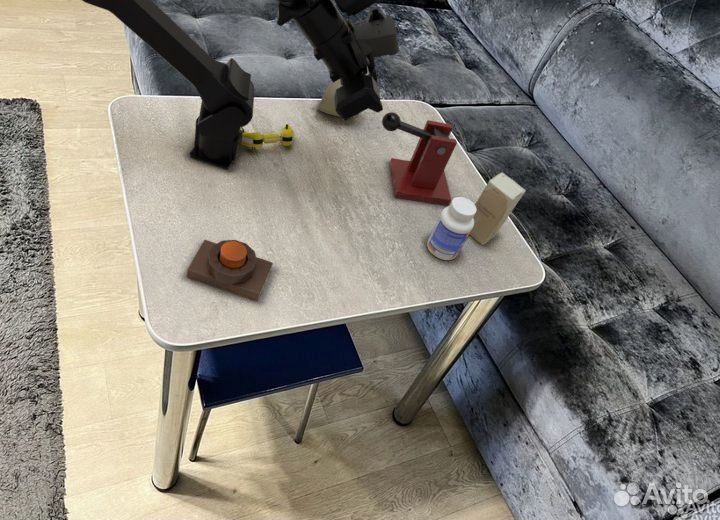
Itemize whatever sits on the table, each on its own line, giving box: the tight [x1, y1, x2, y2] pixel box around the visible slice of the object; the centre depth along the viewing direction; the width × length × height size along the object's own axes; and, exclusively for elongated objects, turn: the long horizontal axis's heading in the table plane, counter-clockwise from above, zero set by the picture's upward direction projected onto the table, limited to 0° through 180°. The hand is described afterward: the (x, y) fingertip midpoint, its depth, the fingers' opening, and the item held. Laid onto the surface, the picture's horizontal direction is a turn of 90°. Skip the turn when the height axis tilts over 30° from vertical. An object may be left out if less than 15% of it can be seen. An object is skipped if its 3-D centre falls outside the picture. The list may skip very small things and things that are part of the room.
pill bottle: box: [426, 196, 476, 261], centre depth 92 cm, size 5×5×10 cm
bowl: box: [316, 79, 359, 118], centre depth 110 cm, size 10×10×7 cm
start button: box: [220, 241, 247, 269], centre depth 78 cm, size 3×3×2 cm
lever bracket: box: [388, 119, 458, 206], centre depth 101 cm, size 10×9×12 cm
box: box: [469, 171, 526, 246], centre depth 97 cm, size 5×4×11 cm
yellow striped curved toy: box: [240, 124, 295, 151], centre depth 100 cm, size 10×6×4 cm, turn 117°
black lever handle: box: [381, 111, 450, 142], centre depth 96 cm, size 12×3×3 cm, turn 95°
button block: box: [186, 239, 274, 302], centre depth 80 cm, size 10×6×4 cm, turn 78°
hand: (380, 109), depth 93 cm, fingers closed
